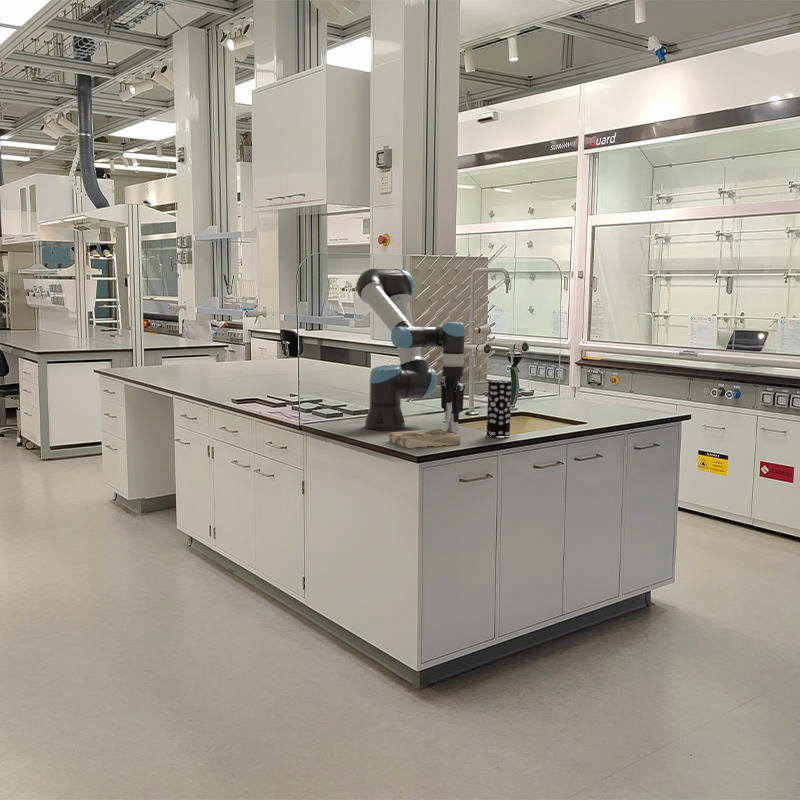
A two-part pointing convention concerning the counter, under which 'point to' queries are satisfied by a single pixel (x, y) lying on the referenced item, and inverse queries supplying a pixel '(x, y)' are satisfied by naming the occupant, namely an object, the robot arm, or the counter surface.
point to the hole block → (424, 438)
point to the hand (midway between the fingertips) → (451, 429)
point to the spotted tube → (499, 408)
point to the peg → (449, 417)
